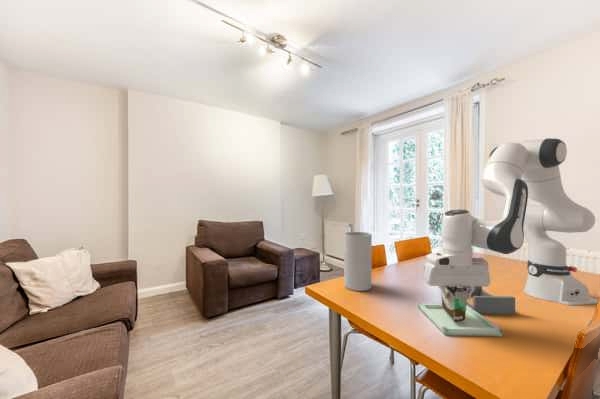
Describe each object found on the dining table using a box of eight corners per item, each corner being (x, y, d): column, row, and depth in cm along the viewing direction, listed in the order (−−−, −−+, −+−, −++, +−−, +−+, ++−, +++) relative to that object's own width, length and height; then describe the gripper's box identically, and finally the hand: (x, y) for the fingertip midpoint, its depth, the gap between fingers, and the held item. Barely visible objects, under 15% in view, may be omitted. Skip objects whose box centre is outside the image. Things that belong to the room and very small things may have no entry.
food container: (477, 325, 73) (477, 293, 73) (455, 323, 75) (455, 292, 74) (458, 307, 85) (459, 280, 85) (440, 306, 87) (440, 279, 87)
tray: (465, 309, 88) (465, 304, 88) (502, 336, 71) (502, 329, 71) (418, 308, 89) (418, 303, 89) (444, 335, 72) (444, 328, 72)
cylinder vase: (357, 280, 120) (357, 231, 119) (377, 288, 109) (377, 234, 109) (338, 285, 113) (338, 233, 113) (358, 294, 102) (358, 236, 102)
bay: (479, 294, 102) (480, 280, 102) (515, 314, 84) (515, 297, 84) (446, 294, 102) (446, 280, 102) (475, 313, 85) (475, 297, 85)
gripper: (481, 255, 83) (480, 294, 83) (421, 255, 83) (421, 294, 84) (495, 260, 76) (495, 302, 76) (430, 260, 77) (430, 302, 77)
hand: (456, 298), depth 80 cm, fingers closed on food container, 6 cm apart
